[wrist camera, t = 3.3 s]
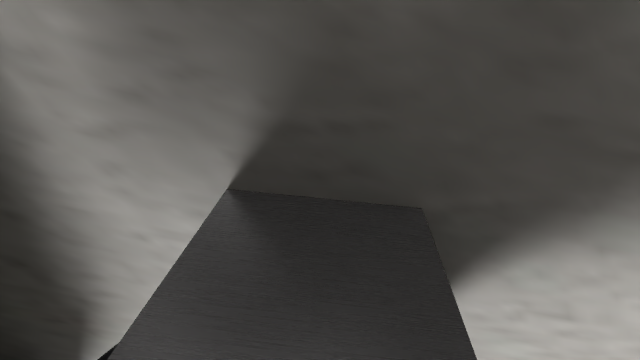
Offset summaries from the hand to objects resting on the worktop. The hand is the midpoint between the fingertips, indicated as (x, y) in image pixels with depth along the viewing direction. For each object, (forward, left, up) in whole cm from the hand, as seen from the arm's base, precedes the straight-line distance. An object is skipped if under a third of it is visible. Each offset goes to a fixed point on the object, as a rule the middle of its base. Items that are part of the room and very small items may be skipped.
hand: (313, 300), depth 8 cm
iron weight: (0, 0, -1) cm, 1 cm away
